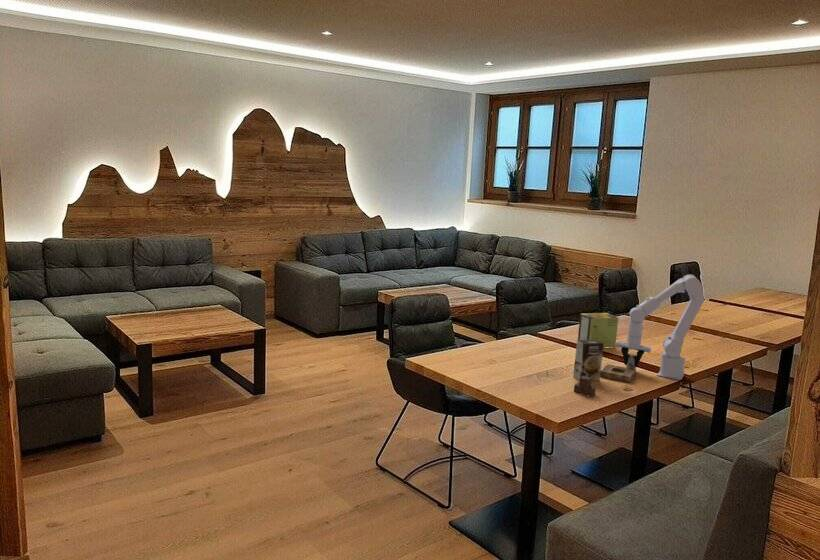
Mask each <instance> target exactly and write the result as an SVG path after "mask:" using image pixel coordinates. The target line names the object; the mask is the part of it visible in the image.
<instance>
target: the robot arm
mask: <svg viewBox="0 0 820 560" xmlns="http://www.w3.org/2000/svg"><path fill="white" fill-rule="evenodd" d="M685 290H686V291H685ZM686 292H687V295H688V296H689V301H688V303H687V305H686V306H685V309H684V310H683V312H682V314H681V316H680V318H679V320H678V322H677V324H676V325H675V327H674V329H673V331H672V332H671V333H670V334H669V336H668V337H667V338H665V340H663V342H662V347H663V349H664V350H663V352H662V353H661V359H660V360H661V361H660V369H659V371H658V373H657V376H658V377H664V378H667V379H672V380H673V379H674V380H679V381H681V380H682V379H683V377H684V376H685V375H684V374H685V367H686V365H685V364H686V358H685V357H682V356H681V352H682V346H683V345H684V340H685V337H686V335H687V333H688V331H689V330H690V328H691V326H692V324H693V322H694V320H695V319H696V317H697V315H698V313H699V311H700V309H701V308H702V305H703V303H704V301H705V296H704V287H703V284H702V283H701V281H700V279H698V278H697V277H696V276H695V275H694V274H691V273H690V274H686V275H684V276H683V277H681V278H678V279H677V280H675V282H673V283H672V284H670V285H669V286H668V287H666V288H665V289H664V290H663V291H661V292H660V293H659V294H657V295H656V296H650V297H648V296H647V297H645V300H644V301H643V302H641V303H640V304H637V305H636V306H635V307H633V308H630V311H629V313H628V315H629V317H630V318H629V322H628V323H629V324H628V327H627V329H628V330H627V338H626V342H622V341H616V345H615V348H620V352H621V354H622V357H623V361H624V362H623V363H624V366H626V364H627V355H628V354H629V350H633V351H637V352H636V355H637V359H636V365H635V367H636V368H638V366H639V363H640V361H641V358H642V357H643V355H644V353H647V354H651V353H652V347H649V346H645V345H642V344H641V343H642V336H643V328H644V327H643V323H644V321H645V319H646V317H648V316H649V315H651V314H652V313H653V312H655V311H656V310H659V308H661V307H660V306H661V303H663V302H664V301H666V300H667V299H669V298H670V297H673V296H674V295H676V294H677V293H686Z"/></svg>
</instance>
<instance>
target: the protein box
mask: <svg viewBox="0 0 820 560" xmlns="http://www.w3.org/2000/svg"><path fill="white" fill-rule="evenodd" d="M618 325H619V317H618V316H615V315H613V314H610V313H609V312H592V313H591V312H590V313H586V312H585V313H580V314H579V324H578V335H577V340H597V341H600V342H602V343H604V345H603V348H605V347H615V348H616V342H617V335H618ZM605 349H606V348H605Z"/></svg>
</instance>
